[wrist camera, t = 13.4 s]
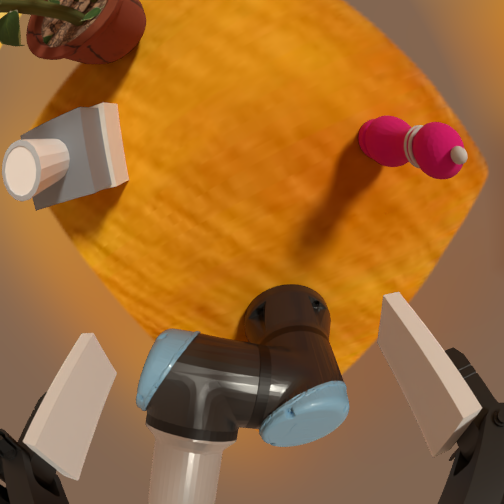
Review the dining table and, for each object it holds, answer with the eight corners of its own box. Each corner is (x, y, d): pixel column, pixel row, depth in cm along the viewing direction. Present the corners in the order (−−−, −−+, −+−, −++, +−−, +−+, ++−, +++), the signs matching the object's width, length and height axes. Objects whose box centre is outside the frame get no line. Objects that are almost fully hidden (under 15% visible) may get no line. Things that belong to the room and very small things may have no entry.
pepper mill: (349, 121, 36) (430, 122, 18) (389, 112, 35) (481, 114, 17) (361, 167, 39) (442, 203, 21) (400, 156, 38) (489, 185, 20)
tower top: (111, 184, 34) (95, 192, 30) (54, 200, 35) (35, 210, 30) (98, 107, 30) (79, 106, 25) (41, 132, 30) (20, 135, 26)
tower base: (129, 179, 39) (116, 186, 34) (69, 194, 39) (53, 202, 35) (118, 104, 34) (103, 102, 30) (57, 126, 34) (39, 128, 30)
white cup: (36, 186, 29) (4, 201, 22) (34, 136, 26) (0, 143, 19) (74, 186, 29) (42, 201, 23) (73, 131, 26) (39, 136, 20)
